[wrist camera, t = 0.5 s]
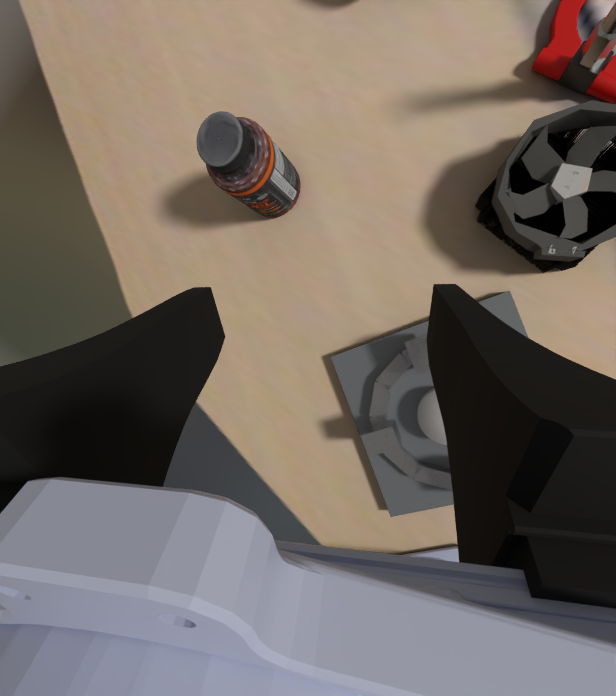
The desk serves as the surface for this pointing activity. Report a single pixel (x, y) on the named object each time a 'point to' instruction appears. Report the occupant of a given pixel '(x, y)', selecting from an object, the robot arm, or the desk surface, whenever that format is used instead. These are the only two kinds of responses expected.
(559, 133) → the cpu cooler
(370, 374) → the cap plate
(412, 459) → the ring nut
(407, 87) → the desk surface
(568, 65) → the tow hook
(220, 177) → the supplement bottle
